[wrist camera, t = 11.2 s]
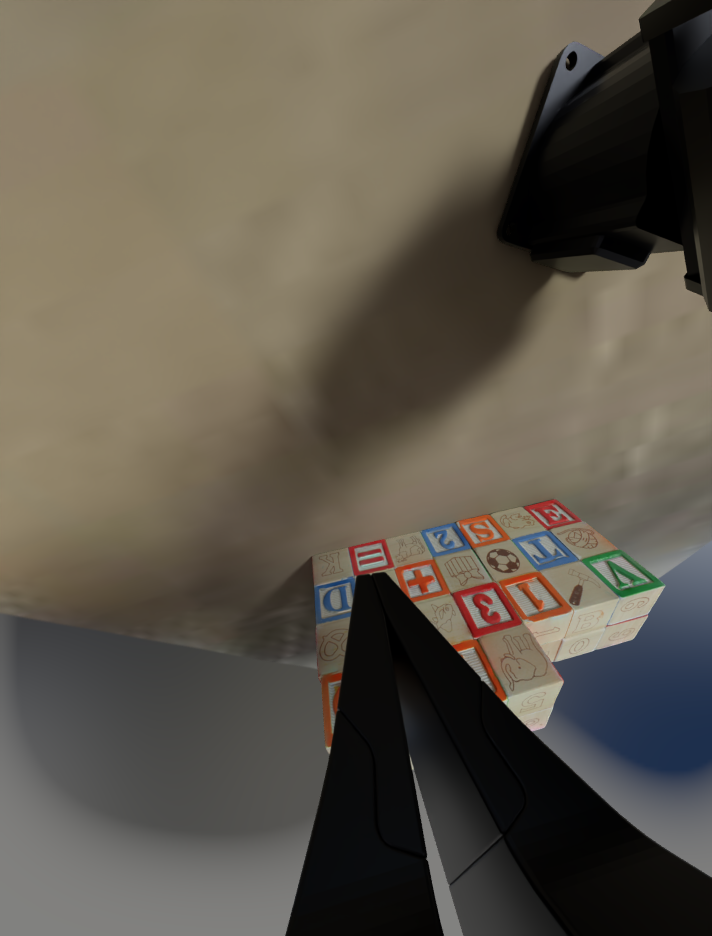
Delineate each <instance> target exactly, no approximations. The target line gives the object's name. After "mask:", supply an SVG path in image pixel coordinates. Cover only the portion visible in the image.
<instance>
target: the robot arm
mask: <svg viewBox="0 0 712 936" xmlns="http://www.w3.org/2000/svg"><path fill="white" fill-rule="evenodd" d="M639 23H640V29H641V31H640V32H639V33H637V34H636V35H635V36H633V37H632V38H630V39H629V40H628V41H626V42H625V43H624V44H622V45H621V46H619V47H618V48H617V49H615V50H614V51H613V52H611V53H610V54H608V55H607V56H606V57H604V56H602V55H600V54H598V53H596V52H595V51H593V50H591V49H589V48H588V47H586V46H584V45H582V44H580V43H579V42H572V43H570V44H569V45H567V46H566V47H565V48H564V49H563V50H562V51H561V52H560V53H559V54H558V55H557V57H556V59H555V61H554V64H553V67H552V70H551V73H550V76H549V79H548V82H547V85H546V88H545V91H544V94H543V97H542V100H541V103H540V106H539V109H538V111H537V114H536V117H535V120H534V123H533V126H532V129H531V132H530V135H529V138H528V141H527V144H526V147H525V150H524V153H523V156H522V159H521V162H520V165H519V168H518V171H517V174H516V176H515V179H514V182H513V185H512V188H511V191H510V194H509V197H508V200H507V203H506V206H505V209H504V212H503V215H502V218H501V221H500V224H499V227H498V231H497V236H498V239H499V241H500V242H502V243H504V244H507V245H510V246H513V247H517V248H520V249H523V250H526V251H529V252H531V253H530V258H531V260H532V261H533V262H536V263H539V264H542V265H546V266H549V267H552V268H555V269H558V270H562V271H565V272H589V271H610V270H631V269H637V268H639V267H641V266H643V265H644V264H645V263H646V261H647V259H648V257H649V255H650V254H651V253H662V252H674V251H684V256H685V262H686V268H687V273H686V274H685V276H684V280H685V285H686V289H687V290H689V291H692V292H694V293H697V294H699V295H702V296H703V297H704V299H705V302H706V304H707V307H708V309H709V311H711V312H712V0H655V1H654V3H653V4H652V5H651V6H650V7H649V8H648V9H647V10H646V11H645V12H644V13H643V14H642V15H641V17H640V18H639ZM566 58H568V59H569V62H570V67H569V70H567V69H566V65H565V63H566ZM508 225H510V226H511V233H510V235H507V232H506V231H507V227H508ZM409 754H410V755H409ZM410 758H411V761H412V764H413V768H414V771H415V774H416V778H417V781H418V784H419V788H420V791H421V794H422V798H423V801H424V805H425V808H426V811H427V815H428V818H429V821H430V825H431V828H432V831H433V835H434V838H435V841H436V845H437V848H438V851H439V854H440V858H441V862H442V865H443V868H444V872H445V875H446V878H447V882H448V884H449V885H450V886H449V888H450V892H451V895H452V899H453V902H454V906H455V909H456V912H457V915H458V919H459V922H460V926H461V929H462V932H463V935H464V936H712V877H710V876H708V875H707V874H705V873H704V872H702V871H700V870H699V869H697V868H696V867H694V866H692V865H691V864H689V863H688V862H686V861H684V860H683V859H681V858H679V857H678V856H676V855H675V854H673V853H671V852H670V851H668V850H667V849H665V848H664V847H662V846H661V845H659V844H658V843H656V842H655V841H653V840H652V839H651V838H649V837H648V836H646V835H645V834H644V833H642V832H641V831H640V830H639V829H637V828H636V827H635V826H633V825H632V824H631V823H630V822H628V821H627V820H626V819H625V818H624V817H623V816H621V815H620V814H619V813H618V812H617V811H616V810H615V809H613V808H612V807H611V806H610V805H609V804H608V803H607V802H606V801H605V800H604V799H603V798H601V796H599V795H598V794H597V793H596V792H595V791H594V790H593V789H592V788H591V787H590V786H589V785H588V784H587V783H586V782H585V781H584V780H583V779H582V778H580V777H579V776H578V775H577V774H576V773H575V772H574V771H573V770H572V769H571V768H570V767H569V766H568V765H567V764H566V763H565V762H564V761H562V760H561V759H560V758H559V757H558V756H557V755H556V754H555V753H554V752H553V751H552V750H551V749H549V747H548V746H547V745H545V744H544V743H543V742H542V741H541V740H540V739H539V738H538V737H537V736H536V735H535V734H534V733H533V732H532V731H531V730H530V729H529V728H528V727H527V726H526V725H525V724H524V723H523V722H522V721H521V720H520V719H519V718H518V717H517V716H516V715H515V714H514V713H513V712H512V711H511V710H510V709H509V708H508V707H507V705H506V704H505V703H504V702H503V701H502V700H501V699H500V698H499V697H498V696H497V695H496V694H495V693H494V691H493V690H492V689H491V688H490V687H489V686H488V685H487V684H486V683H485V681H481V677H480V676H479V675H478V674H477V673H476V672H475V671H474V669H473V668H472V667H471V666H470V665H469V664H468V663H467V662H466V661H465V659H464V658H463V657H462V656H461V655H460V654H459V653H458V652H457V651H456V649H455V648H454V647H453V646H452V645H451V644H450V643H449V642H448V641H447V639H446V638H445V637H444V636H443V635H442V634H441V633H440V632H439V631H438V630H437V628H436V627H435V626H434V625H433V624H432V623H431V622H430V621H429V620H428V618H427V617H426V616H425V615H424V614H423V613H422V612H421V611H420V610H419V608H418V607H417V606H416V605H415V604H414V603H413V602H412V601H411V600H410V598H409V597H408V596H407V595H406V594H405V593H404V592H403V591H402V590H401V588H400V587H399V586H398V585H397V584H396V583H395V582H394V581H393V580H392V579H391V577H390V576H389V575H388V574H387V573H386V572H377V573H372V574H371V575H370V574H362V575H357V577H356V581H355V588H354V595H353V602H352V609H351V616H350V623H349V630H348V637H347V643H346V650H345V657H344V664H343V671H342V678H341V685H340V692H339V699H338V705H337V712H336V718H335V725H334V732H333V738H332V743H331V749H330V755H329V761H328V766H327V770H326V775H325V779H324V784H323V788H322V792H321V797H320V801H319V805H318V809H317V813H316V817H315V821H314V825H313V829H312V833H311V837H310V841H309V845H308V849H307V853H306V857H305V861H304V865H303V869H302V873H301V877H300V880H299V884H298V888H297V893H296V896H295V901H294V905H293V908H292V912H291V916H290V920H289V924H288V927H287V931H286V935H285V936H444V934H443V930H442V926H441V923H440V918H439V914H438V909H437V904H436V900H435V895H434V890H433V885H432V880H431V875H430V869H429V864H428V861H427V860H426V858H427V852H426V847H425V841H424V835H423V829H422V823H421V819H420V812H419V806H418V800H417V795H416V789H415V783H414V778H413V772H412V766H411V761H410Z"/></svg>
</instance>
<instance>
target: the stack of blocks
mask: <svg viewBox="0 0 712 936" xmlns="http://www.w3.org/2000/svg"><path fill="white" fill-rule="evenodd" d="M312 566H313V582H314V588H315V589H314V593H315V615H316V646H317V666H318V677H319V680H320V682H321V684H322V701H323V717H324V733H325V746H326V750H327V751H328V753H329V755H330V749H331V743H332V738H333V732H334V725H335V718H336V712H337V705H338V699H339V692H340V685H341V678H342V671H343V664H344V657H345V650H346V643H347V637H348V630H349V623H350V616H351V609H352V602H353V595H354V588H355V581H356V577H357V575H362V574H370V575H371V574H372V573H377V572H386V573H387V574H388V575H389V576H390V577H391V579H392V580H393V581H394V582H395V583H396V584H397V585H398V586H399V587H400V588H401V590H402V591H403V592H404V593H405V594H406V595H407V596H408V597H409V598H410V600H411V601H412V602H413V603H414V604H415V605H416V606H417V607H418V608H419V610H420V611H421V612H422V613H423V614H424V615H425V616H426V617H427V618H428V620H429V621H430V622H431V623H432V624H433V625H434V626H435V627H436V628H437V630H438V631H439V632H440V633H441V634H442V635H443V636H444V637H445V638H446V639H447V641H448V642H449V643H450V644H451V645H452V646H453V647H454V648H455V649H456V651H457V652H458V653H459V654H460V655H461V656H462V657H463V658H464V659H465V661H466V662H467V663H468V664H469V665H470V666H471V667H472V668H473V669H474V671H475V672H476V673H477V674H478V675H479V676H480V677H481V681H485V683H486V684H487V685H488V686H489V687H490V688H491V689H492V690H493V691H494V693H495V694H496V695H497V696H498V697H499V698H500V699H501V700H502V701H503V702H504V703H505V704H506V705H507V707H508V708H509V709H510V710H511V711H512V712H513V713H514V714H515V715H516V716H517V717H518V718H519V719H520V720H521V721H522V722H523V723H524V724H525V725H526V726H527V727H528V728H529V729H530V730H531V731H534V730H538V729H541V728H544V727H545V726H546V724H547V721H548V719H549V716H550V714H551V711H552V709H553V705H554V702H555V699H556V697H557V695H558V693H559V691H560V689H561V687H562V685H563V683H564V681H563V679H562V677H561V675H560V674H559V673H558V671H557V670H556V668H555V667H554V665H553V664H552V662H553V661H555V662H556V661H560V660H563V659H567V658H571V657H574V656H578V655H581V654H584V653H588V652H591V651H593V650H596V649H601V648H604V647H608V646H612V645H616V644H620V643H622V642H626V641H629V640H632V639H633V638H634V637H635V636H636V634H637V632H638V631H639V629H640V628H641V626H642V625H643V623H644V621H645V620H646V619H647V617H648V615H647V614H648V613H649V611H650V609H651V608H652V606H653V605H654V603H655V602H656V600H657V598H658V597H659V595H660V593H661V591H662V590H663V589H664V587H665V585H664V584H663V583H662V582H661V581H660V580H659V579H657V578H656V577H655V576H654V575H652V574H651V573H650V572H649V571H647V570H646V569H645V568H644V567H643V566H641V565H640V564H639V563H637V562H636V561H635V560H634V559H632V558H631V557H630V556H629V555H627V554H626V553H625V552H624V551H622V550H618V549H617V548H616V547H615V546H614V545H613V544H611V543H610V542H609V541H608V540H607V539H605V538H604V537H603V536H602V535H600V534H599V533H598V532H597V531H596V530H594V529H593V528H592V527H590V526H589V525H588V524H587V523H586V522H582V520H581V519H579V518H578V517H577V516H576V515H575V514H574V513H572V512H571V511H570V510H569V509H568V508H566V507H565V506H564V505H563V504H561V503H560V502H559V501H557V500H556V499H554V500H550V501H546V502H542V503H538V504H534V505H530V506H525V507H524V508H523V507H517V508H513V509H509V510H504V511H500V512H496V513H493V514H490V515H483V516H479V517H475V518H470V519H466V520H462V521H457V522H456V523H451V524H447V525H443V526H439V527H435V528H431V529H426V530H422V531H420V532H414V533H410V534H406V535H402V536H398V537H394V538H390V539H386V540H385V539H383V540H379V541H374V542H370V543H366V544H361V545H357V546H353V547H349V548H344V549H339V550H335V551H331V552H326V553H322V554H318V555H314V556H312ZM409 755H410V754H409ZM410 761H411V758H410ZM411 766H412V770H413V769H414V768H413V764H412V761H411Z"/></svg>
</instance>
